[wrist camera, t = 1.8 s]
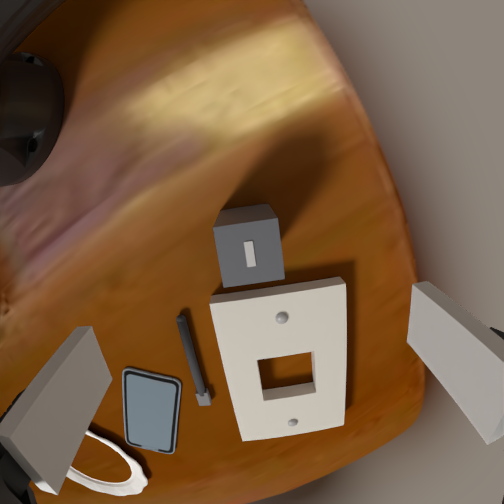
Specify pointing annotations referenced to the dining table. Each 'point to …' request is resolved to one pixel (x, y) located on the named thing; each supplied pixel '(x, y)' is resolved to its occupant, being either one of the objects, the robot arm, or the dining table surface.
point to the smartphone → (150, 410)
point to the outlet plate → (282, 344)
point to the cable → (193, 362)
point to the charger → (248, 245)
